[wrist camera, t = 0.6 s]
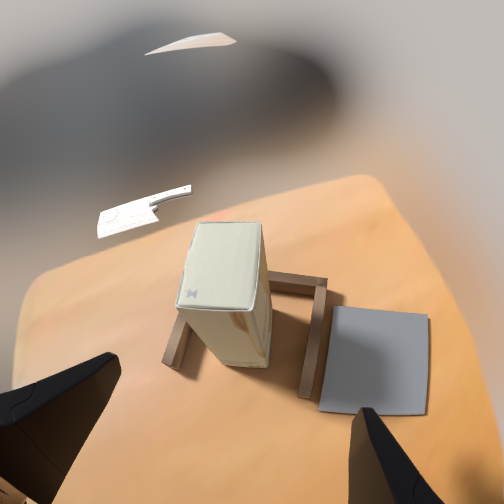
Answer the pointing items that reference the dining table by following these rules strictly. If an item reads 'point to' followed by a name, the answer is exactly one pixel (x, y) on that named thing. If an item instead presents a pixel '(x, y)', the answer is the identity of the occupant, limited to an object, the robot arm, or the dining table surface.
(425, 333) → the slate coaster
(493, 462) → the dining table surface
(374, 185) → the dining table surface
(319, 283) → the walnut cubby
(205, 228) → the skincare box
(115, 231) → the white meat cleaver
